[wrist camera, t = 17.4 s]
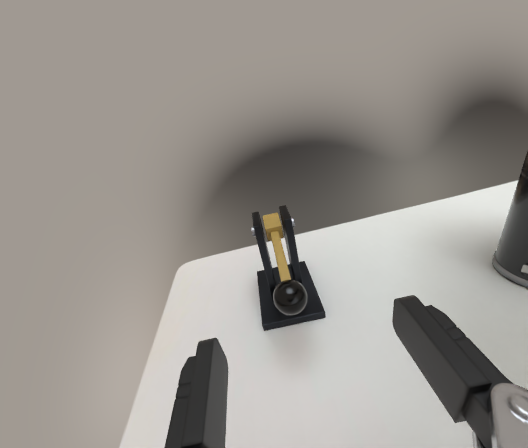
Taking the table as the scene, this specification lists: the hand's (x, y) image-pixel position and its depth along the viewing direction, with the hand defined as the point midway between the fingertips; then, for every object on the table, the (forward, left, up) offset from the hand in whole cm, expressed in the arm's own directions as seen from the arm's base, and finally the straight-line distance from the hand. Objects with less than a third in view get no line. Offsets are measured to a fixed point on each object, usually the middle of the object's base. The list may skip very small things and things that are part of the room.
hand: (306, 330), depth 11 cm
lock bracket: (-14, -17, -20) cm, 30 cm away
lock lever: (-11, -13, -10) cm, 20 cm away
